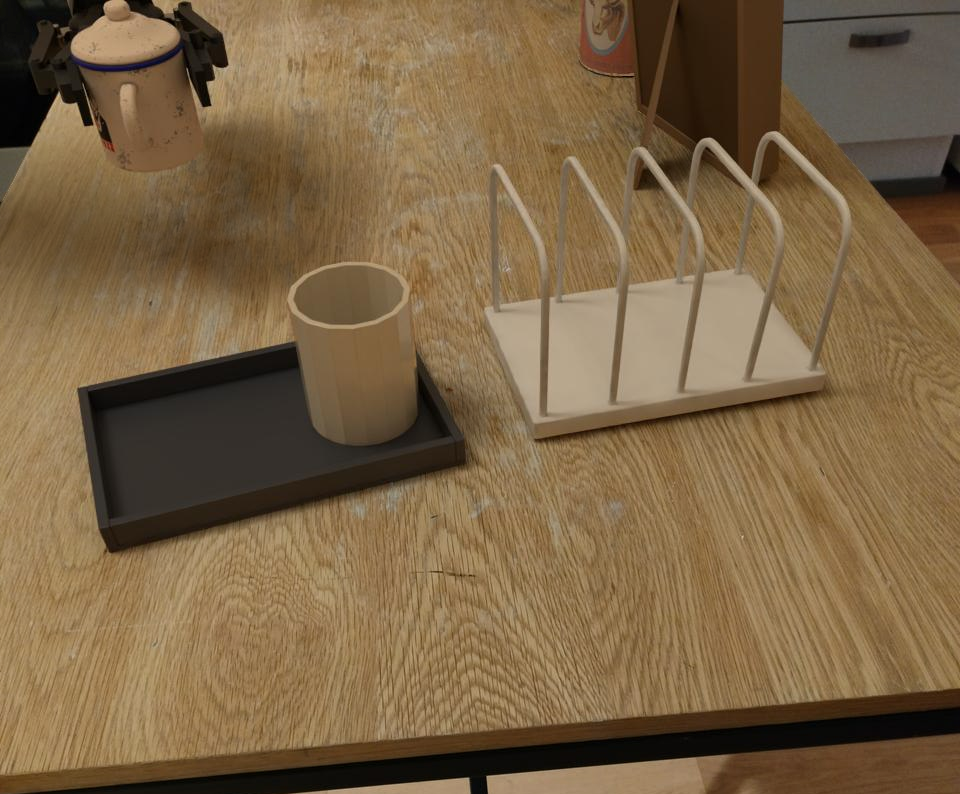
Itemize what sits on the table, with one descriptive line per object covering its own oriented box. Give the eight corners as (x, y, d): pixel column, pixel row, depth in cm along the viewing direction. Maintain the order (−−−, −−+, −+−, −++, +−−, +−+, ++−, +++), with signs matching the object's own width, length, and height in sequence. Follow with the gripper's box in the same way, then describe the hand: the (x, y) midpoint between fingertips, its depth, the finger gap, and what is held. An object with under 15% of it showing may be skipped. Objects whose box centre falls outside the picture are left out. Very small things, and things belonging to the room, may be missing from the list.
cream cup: (325, 460, 76) (303, 339, 68) (299, 395, 81) (276, 275, 73) (433, 434, 78) (425, 313, 69) (401, 372, 83) (389, 252, 75)
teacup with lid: (109, 133, 89) (63, -13, 79) (208, 125, 89) (175, -21, 80) (96, 196, 81) (44, 42, 72) (205, 186, 82) (167, 33, 73)
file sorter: (740, 285, 91) (777, 111, 79) (822, 395, 80) (880, 213, 68) (482, 323, 88) (480, 148, 76) (533, 443, 77) (539, 261, 65)
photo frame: (667, 104, 116) (700, -159, 97) (776, 180, 104) (839, -105, 84) (559, 129, 113) (571, -139, 93) (659, 211, 100) (697, -80, 81)
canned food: (561, 64, 125) (566, -46, 115) (608, 36, 130) (616, -70, 121) (636, 84, 120) (647, -28, 111) (681, 55, 126) (696, -54, 116)
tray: (108, 552, 70) (98, 529, 68) (86, 411, 81) (76, 387, 79) (466, 463, 76) (465, 439, 74) (401, 342, 86) (399, 318, 84)
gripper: (232, 33, 96) (283, 125, 83) (8, 66, 91) (23, 169, 78) (215, -57, 90) (267, 26, 77) (-26, -26, 86) (-16, 68, 72)
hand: (144, 98), depth 77 cm, fingers closed on teacup with lid, 9 cm apart
